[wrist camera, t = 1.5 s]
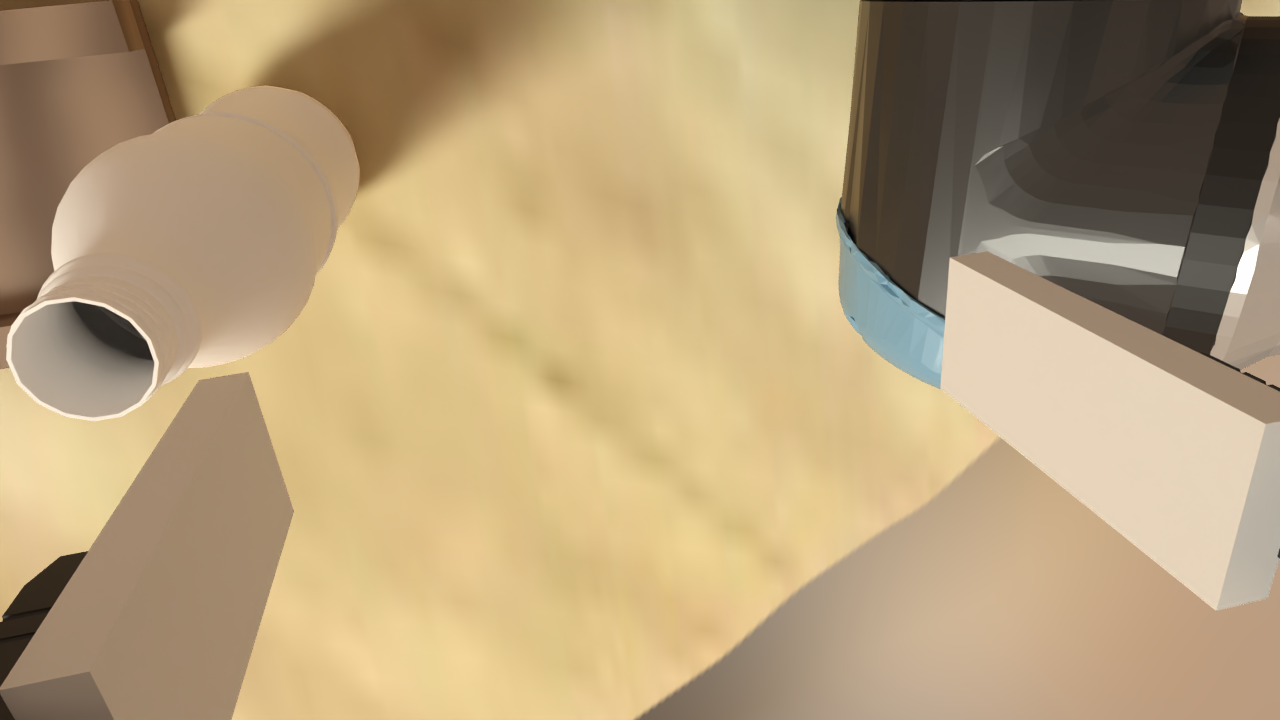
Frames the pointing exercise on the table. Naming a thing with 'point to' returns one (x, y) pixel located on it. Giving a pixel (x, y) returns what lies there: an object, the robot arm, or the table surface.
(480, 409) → the table surface
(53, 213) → the walnut cradle
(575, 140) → the table surface
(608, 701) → the table surface
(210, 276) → the water bottle
